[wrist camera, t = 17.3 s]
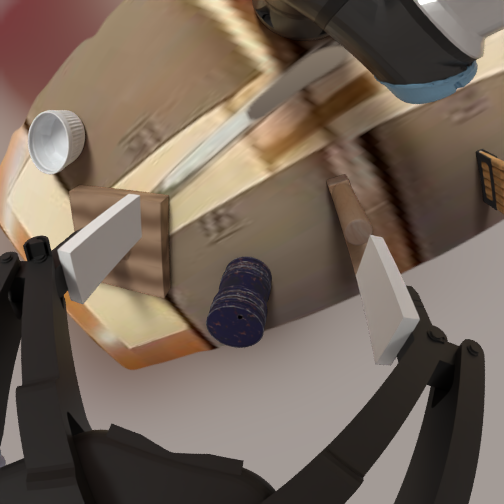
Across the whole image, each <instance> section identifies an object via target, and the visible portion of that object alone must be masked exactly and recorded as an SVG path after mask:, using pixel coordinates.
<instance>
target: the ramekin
mask: <svg viewBox="0 0 504 504" xmlns="http://www.w3.org/2000/svg"><path fill="white" fill-rule="evenodd" d="M84 142H85V130H84V126H83V124H82V122H81V120H80V118H79V117H78V116H77V115H76V114H75V113H73V112H71V111H68V110H57V111H55V110H48V111H44V112H42V113H40V114H39V115H38V116H37V117H36V118H35V119H34V120H33V122H32V124H31V127H30V129H29V134H28V149H29V153H30V156H31V159H32V161H33V163H34V164H35V166H36V167H37V168H38V169H39V170H40V171H41V172H43V173H46V174H55V173H57V172H60V171H61V170H63V169H64V168H65V167H66V166H67V165H69V164H70V163H72V162H73V161H75V160H76V159H77V158H78V157H79V155H80V154H81V152H82V150H83V146H84Z"/></svg>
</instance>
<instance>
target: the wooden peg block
mask: <svg viewBox="0 0 504 504" xmlns="http://www.w3.org/2000/svg"><path fill="white" fill-rule="evenodd" d="M327 185H328V188H329V190H330V193H331V196H332V199H333V202H334V205H335V208H336V211H337V214H338V218H339V221H340V224H341V228H342V231H343V234H344V237H345V241H346V244H347V248H348V251H349V254H350V258H351V262H352V265H353V269H354V272H355V275H356V274H357V271H358V268H359V265H360V263H361V260H362V257H363V254H364V251H365V249H366V246H367V243H368V240H369V237H370V235H372V233H373V228H372V225H371V223H370V221H369V219H368V217H367V215H366V213H365V212H364V210H363V208H362V206H361V204H360V202H359V200H358V198H357V197H356V195H355V193H354V191H353V189H352V188H351V185H350V181H349V179H348V178H347V176H346V175H345V174H344V175H340V176H337V177H334V178H331V179H328V180H327Z"/></svg>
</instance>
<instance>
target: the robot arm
mask: <svg viewBox="0 0 504 504" xmlns="http://www.w3.org/2000/svg"><path fill="white" fill-rule="evenodd" d="M252 3H253V7H254V10H255V12H256V14H257V16H258V18H259V19H260V21H261V22H262V23H263V24H264V25H265V26H266V27H267V28H268V29H270V30H271V31H273V32H274V33H276V34H278V35H280V36H282V37H285V38H288V39H292V40H299V41H312V40H318V39H322V38H324V37H327V36H329V35H330V36H331V37H332V38H333V39H335V40H336V41H337V42H338V43H339V44H341V45H342V46H343V47H344V48H345V49H346V50H347V51H349V52H350V53H351V54H352V55H353V56H354V57H355V58H356V59H357V60H359V61H360V62H361V63H362V64H363V65H364V66H365V67H366V68H367V69H368V70H369V71H370V72H371V73H372V74H373V75H374V77H375V79H376V80H377V81H378V82H380V83H381V84H383V85H385V86H386V87H387V88H388V89H389V90H390V91H391V92H392V93H393V94H394V95H395V96H396V97H397V98H399V99H400V100H402V101H404V102H406V103H411V104H424V103H429V102H433V101H437V100H440V99H443V98H445V97H447V96H449V95H451V94H453V93H455V92H456V89H457V88H460V87H464V86H465V85H467V84H468V83H469V82H470V81H471V80H472V79H473V78H474V76H475V75H476V72H477V63H476V60H477V59H479V58H481V57H482V56H483V54H484V44H485V38H486V37H488V36H490V35H492V34H494V33H496V32H498V31H500V30H503V29H504V0H252ZM141 237H142V230H141V210H140V195H135V194H128V195H126V196H125V197H124V198H122V199H121V200H120V201H118V202H117V203H115V204H114V205H113V206H111V207H110V208H109V209H107V210H106V211H105V212H103V213H102V214H101V215H100V216H98V217H97V218H96V219H94V220H93V221H92V222H91V223H89V224H88V225H87V226H85V227H83V228H81V229H79V230H77V231H75V232H74V233H73V234H71V235H70V236H69V237H68V238H66V239H65V240H64V241H63V242H62V243H60V244H59V245H58V246H57V247H56V248H55V249H53V250H52V251H51V248H50V244H49V239H48V237H46V236H36V237H33V238H31V239H29V240H27V241H26V242H25V244H24V245H23V247H24V251H25V254H26V258H27V261H20V260H19V257H18V254H17V253H16V252H6V253H4V254H2V256H0V445H1V441H2V436H3V431H4V425H5V417H6V409H7V402H8V395H9V390H10V384H11V379H12V374H13V369H14V364H15V360H16V356H17V352H18V348H19V344H20V340H21V363H22V386H18V387H17V388H16V404H17V415H18V423H19V430H20V437H21V442H22V449H23V454H24V458H23V459H21V460H18V461H16V462H13V463H11V464H8V465H6V466H5V459H4V457H3V456H2V455H1V450H0V504H345V502H346V501H347V500H348V499H349V498H350V497H351V496H352V495H353V494H354V493H355V492H356V490H357V489H358V488H359V487H360V485H361V484H362V482H363V481H364V480H363V477H364V476H365V474H366V473H367V472H368V471H369V469H370V468H371V467H372V466H373V464H374V463H375V462H376V460H377V459H378V458H379V457H380V455H381V454H382V453H383V451H384V450H385V449H386V447H387V446H388V445H389V443H390V442H391V440H392V439H393V438H394V436H395V435H396V433H397V432H398V430H399V429H400V427H401V426H402V424H403V423H404V421H405V420H406V418H407V417H408V415H409V413H410V412H411V410H412V408H413V407H414V405H415V404H416V402H417V400H418V399H419V397H420V395H421V394H422V392H423V390H424V388H425V387H426V385H429V386H431V388H430V393H429V397H428V402H427V406H426V410H425V415H424V419H423V422H422V426H421V430H420V433H419V437H418V440H417V443H416V446H415V450H414V453H413V456H412V459H411V462H410V465H409V467H408V470H407V473H406V476H405V478H404V481H403V483H402V486H401V488H400V491H399V493H398V495H397V498H396V500H395V503H394V504H468V503H469V500H470V496H471V492H472V487H473V483H474V478H475V474H476V468H477V463H478V457H479V450H480V443H481V435H482V426H483V413H484V395H485V360H484V352H483V349H482V348H481V346H480V345H479V344H478V343H477V342H475V341H473V340H470V339H465V340H464V341H463V342H462V343H461V345H460V346H457V345H455V344H452V343H449V342H447V341H448V340H447V337H446V335H445V334H444V332H443V331H441V330H440V329H439V328H438V327H436V326H433V325H432V324H431V322H430V319H429V317H428V315H427V312H426V310H425V308H424V306H423V303H422V302H421V299H420V297H419V295H418V293H417V292H416V291H415V290H414V289H413V287H411V286H406V285H405V283H404V281H403V279H402V276H401V274H400V272H399V270H398V268H397V266H396V264H395V262H394V259H393V257H392V255H391V253H390V251H389V249H388V247H387V245H386V243H385V241H384V239H383V238H382V237H378V236H373V235H370V237H369V240H368V243H367V246H366V249H365V251H364V254H363V257H362V260H361V263H360V265H359V268H358V271H357V274H356V279H357V283H358V287H359V291H360V295H361V299H362V303H363V307H364V312H365V316H366V320H367V325H368V329H369V334H370V339H371V344H372V349H373V354H374V360H375V364H379V365H391V364H392V363H393V361H394V360H395V358H396V357H397V359H398V364H397V366H396V367H395V369H394V370H393V371H392V373H391V374H390V375H389V377H388V378H387V379H386V380H385V382H384V383H383V384H382V386H381V387H380V388H379V389H378V391H377V392H376V393H375V394H374V396H373V397H372V398H371V399H370V400H369V402H368V403H367V404H366V405H365V406H364V408H363V409H362V410H361V411H360V412H359V413H358V414H357V415H356V417H355V418H354V419H353V420H352V421H351V422H350V423H349V424H348V425H347V426H346V427H345V429H344V430H343V431H342V432H341V433H340V434H339V435H338V436H337V437H336V438H335V439H334V440H333V441H332V442H331V443H330V444H329V445H328V446H327V447H326V448H325V449H324V450H323V451H322V452H321V453H319V454H318V455H317V456H316V457H315V458H314V459H313V460H312V461H311V462H310V463H309V464H308V465H307V466H305V467H304V468H303V469H302V470H301V471H300V472H299V473H298V474H297V475H295V476H294V477H293V478H292V479H291V480H289V481H288V482H287V483H286V484H285V485H283V486H282V487H281V488H280V489H278V490H277V491H275V489H274V488H273V487H272V486H271V485H270V484H269V483H268V482H267V481H265V480H264V479H263V478H262V477H260V476H259V475H257V474H255V473H254V472H252V471H250V470H247V469H245V468H243V467H242V466H243V461H242V460H236V459H231V458H226V457H221V456H216V455H211V454H185V453H172V452H169V451H167V450H166V449H164V448H162V447H161V446H159V445H157V444H155V443H154V442H152V441H150V440H149V439H147V438H146V437H144V436H142V435H141V434H138V433H135V432H132V431H130V430H127V429H124V428H122V427H119V426H117V425H114V424H111V426H110V429H109V430H92V429H91V427H90V425H89V423H88V420H87V418H86V414H85V411H84V407H83V403H82V399H81V395H80V391H79V386H78V382H77V377H76V372H75V367H74V361H73V356H72V350H71V344H70V337H69V330H68V322H67V312H66V302H65V298H64V294H65V293H66V292H67V291H68V292H69V295H70V299H71V300H72V301H75V302H78V303H81V304H84V302H85V301H86V300H87V299H88V298H89V296H90V295H91V294H92V293H93V292H94V290H95V289H96V288H97V287H98V286H99V284H100V283H101V282H102V281H103V280H104V279H105V277H106V276H107V275H108V274H109V273H110V272H111V270H112V269H113V268H114V267H115V266H116V265H117V264H118V263H119V261H120V260H121V259H122V258H123V257H124V256H125V255H126V254H127V253H128V251H129V250H130V249H131V248H132V247H133V246H134V245H135V244H136V243H137V242H138V241H139V239H140V238H141ZM8 297H9V298H8Z"/></svg>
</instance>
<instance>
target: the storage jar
mask: <svg viewBox="0 0 504 504" xmlns="http://www.w3.org/2000/svg"><path fill="white" fill-rule="evenodd" d="M271 280H272V276H271V272H270V270H269V268H268V267H267V266H266V265H265V264H264V263H263V262H262V261H260V260H258V259H256V258H253V257H239V258H236V259H234V260H233V261H231V262H230V263H229V264H228V266H227V267H226V270H225V272H224V274H223V276H222V279H221V283H220V286H219V292H218V293H217V295H216V296H215V298H214V300H213V303H212V305H211V307H210V312H209V315H208V317H207V320H206V326H207V329H208V331H209V333H210V334H211V335H212V337H214V338H215V339H216V340H217V341H219V342H220V343H222V344H225V345H227V346H231V347H238V348H240V347H241V348H242V347H248V346H252V345H254V344H256V343H257V342H259V341H260V340H261V338H262V336H263V333H264V326H265V323H266V316H267V301H268V299H269V295H270V291H271Z"/></svg>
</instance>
